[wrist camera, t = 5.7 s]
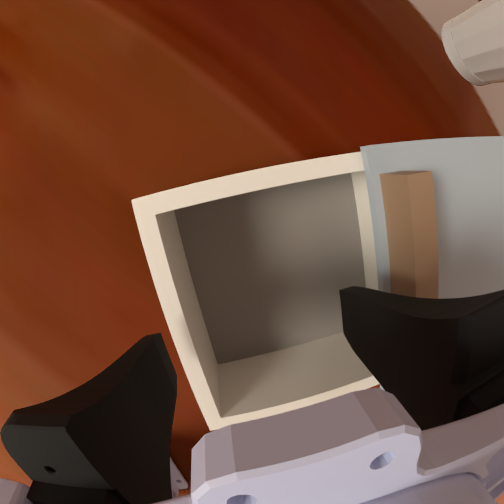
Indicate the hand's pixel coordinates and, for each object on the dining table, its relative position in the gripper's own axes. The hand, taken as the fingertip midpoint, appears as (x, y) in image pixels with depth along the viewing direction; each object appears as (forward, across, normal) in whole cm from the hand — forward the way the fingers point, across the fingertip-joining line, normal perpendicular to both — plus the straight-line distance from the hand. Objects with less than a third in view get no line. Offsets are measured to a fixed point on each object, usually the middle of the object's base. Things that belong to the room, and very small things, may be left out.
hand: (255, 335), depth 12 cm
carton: (+7, -6, 0) cm, 10 cm away
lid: (+1, -12, 0) cm, 12 cm away
